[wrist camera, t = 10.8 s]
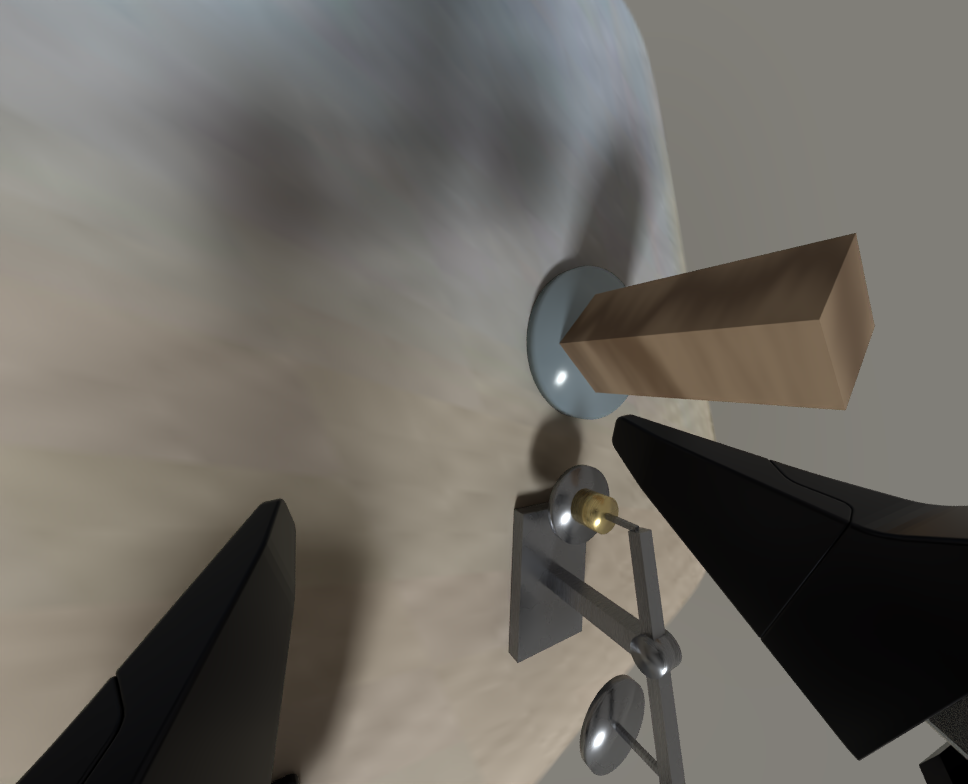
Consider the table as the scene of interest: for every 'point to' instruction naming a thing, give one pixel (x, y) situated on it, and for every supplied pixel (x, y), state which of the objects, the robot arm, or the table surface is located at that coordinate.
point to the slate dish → (548, 329)
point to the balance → (596, 618)
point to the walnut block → (735, 331)
